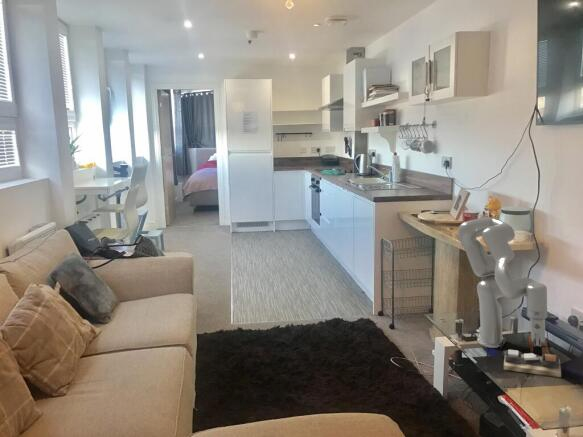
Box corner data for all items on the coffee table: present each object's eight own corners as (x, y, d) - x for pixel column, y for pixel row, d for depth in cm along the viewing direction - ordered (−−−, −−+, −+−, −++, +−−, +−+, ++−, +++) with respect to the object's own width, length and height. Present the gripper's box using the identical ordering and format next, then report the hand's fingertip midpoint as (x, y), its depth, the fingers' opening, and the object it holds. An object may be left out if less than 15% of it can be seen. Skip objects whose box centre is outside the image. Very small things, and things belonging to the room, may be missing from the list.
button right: (545, 362, 190) (545, 358, 189) (544, 358, 193) (544, 353, 193) (556, 364, 188) (556, 359, 188) (555, 359, 191) (555, 354, 191)
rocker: (524, 360, 193) (523, 357, 193) (524, 355, 197) (523, 353, 197) (539, 359, 191) (538, 356, 190) (539, 355, 194) (538, 352, 194)
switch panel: (503, 369, 194) (503, 359, 193) (505, 356, 205) (505, 346, 204) (561, 377, 184) (561, 367, 184) (559, 362, 195) (559, 353, 194)
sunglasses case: (553, 359, 198) (544, 346, 198) (537, 365, 201) (528, 352, 201) (547, 340, 214) (538, 328, 215) (532, 346, 217) (524, 334, 217)
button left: (508, 358, 196) (507, 353, 196) (508, 353, 200) (508, 349, 199) (518, 359, 194) (518, 355, 194) (518, 355, 198) (518, 350, 198)
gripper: (547, 320, 181) (548, 363, 184) (546, 306, 194) (547, 347, 197) (526, 319, 184) (527, 361, 187) (526, 305, 197) (527, 345, 200)
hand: (537, 353), depth 192 cm, fingers closed
